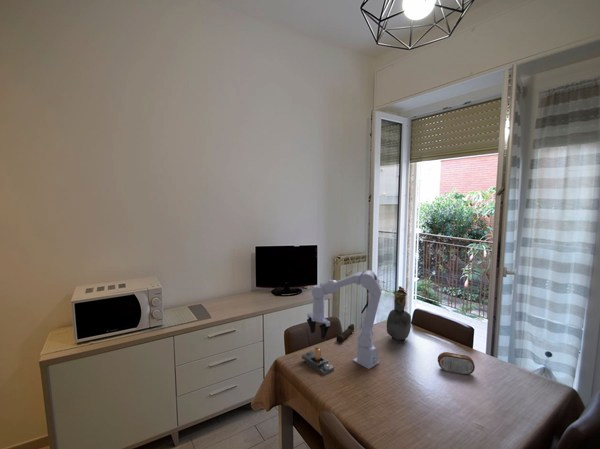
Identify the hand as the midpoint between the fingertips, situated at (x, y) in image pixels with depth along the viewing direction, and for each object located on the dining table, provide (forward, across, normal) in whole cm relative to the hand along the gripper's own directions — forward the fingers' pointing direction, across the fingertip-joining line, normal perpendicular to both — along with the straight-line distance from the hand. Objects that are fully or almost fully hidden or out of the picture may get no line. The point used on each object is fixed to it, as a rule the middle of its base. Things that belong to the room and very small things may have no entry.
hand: (318, 335), depth 151 cm
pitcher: (+10, +18, +46) cm, 50 cm away
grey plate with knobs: (+9, +8, -8) cm, 15 cm away
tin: (+10, +52, +37) cm, 65 cm away
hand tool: (+10, -3, +26) cm, 28 cm away
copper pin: (+9, +8, -8) cm, 15 cm away
